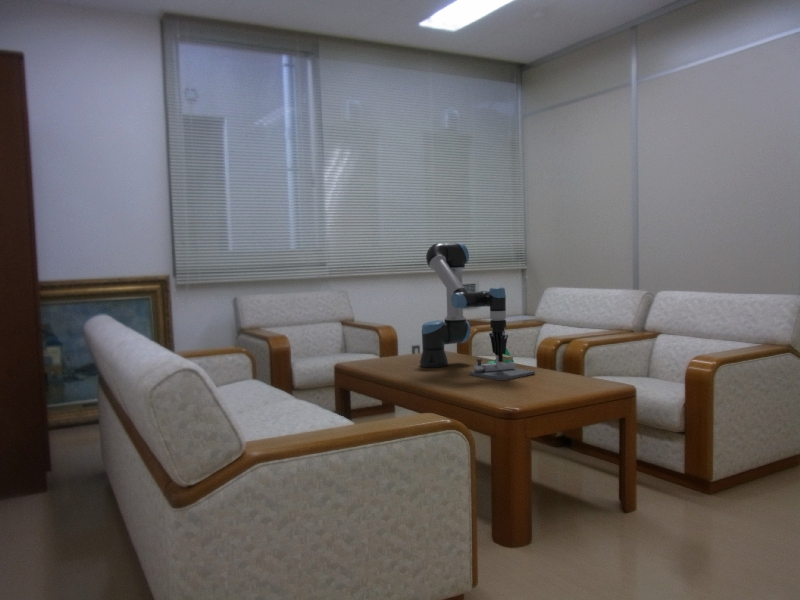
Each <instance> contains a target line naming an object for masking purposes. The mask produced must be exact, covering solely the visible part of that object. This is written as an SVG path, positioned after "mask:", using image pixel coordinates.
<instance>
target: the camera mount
mask: <svg viewBox="0 0 800 600" xmlns="http://www.w3.org/2000/svg"><path fill="white" fill-rule="evenodd" d="M503 355H507V356H511V354H510V352H509V349H508V348H507V347H506V352H505V354H503ZM505 362H514V359H513V360H505ZM490 363H496V358H495V359H494V360H493V361H491V360H490V361H487V362H486V364H490ZM514 363H515V362H514Z"/></svg>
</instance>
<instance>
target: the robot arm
mask: <svg viewBox="0 0 800 600" xmlns="http://www.w3.org/2000/svg"><path fill="white" fill-rule="evenodd" d="M425 256H426V257H425V259H426V263H427V265H428V268H430V270H432V271H433V272H435V274H436V276H437V277H438V278H439V280H440V281H441V282H442V284H443V285H444V287H445V288H446V316H445V318H444V320H439V319H438V320H431V321H427V322H424V323H423V324H422V326H421V345H422V353H421V357H420V360H419V367H422V366H423V367H424V368H444V367H447V366H449V359H448V357H447V354H446V350H445V345H453V344H458V345H459V344H463V343H466V342H468V340H469V339H470V336H471V333H472V329H471V328H472V327H471V324H470V323H469V321H467V317H465V316H464V309H468V308H483V307H484V308H485V307H488V308H489V319H490V321H489V322H490V328H491V329H492V331H491V333H489V334H488V335H489V337H490V343H491V349H492V353H493V354H494V355H495V359H496V369H501V368H503V367H502V361H503V360H502V359H503V357H502V355H503V354H505V352H506V348H507V343H508V338H509V334H506V331H505V328H507V320H506V318H507V311H506V309H507V307H506V306H507V303H506V301H507V300H506V299H507V296H506V289H505V288H504V287H503V286H502V287H501V286H500V287H498V286H497V287H490V288H489V291H488V290H480V291H468V290H467V289H466V288H465V287H464V284H463V270H464V269H465V267H466V264H468V263H469V260H470V254H469V249H468V247H467V246H466V245H465V244H464V243H462V242H437V243H434V244H432V245H431V246H430V247H429V248H428V250H427V251H426V254H425ZM443 366H444V367H443ZM423 367H422V368H423Z"/></svg>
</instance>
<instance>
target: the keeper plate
mask: <svg viewBox="0 0 800 600" xmlns="http://www.w3.org/2000/svg"><path fill="white" fill-rule="evenodd" d="M502 357H503V359H502V360H503V361H502V362H505V360H513V361H514V356H507V355H502ZM468 373H469V376H472V375H473V377H477V376H478V378H483V377H484V379H488V378H489V380H494V379H495V380H496V381H500V380H501V382H504V381H503V380H505V381H509V380H508V379H510V380H514V379H513V378H515V379H519V378H518V377H520V378H523V377H522V376H525V377H528V376H527V375H530V376H532V375H531V374H535V375H536V371H534V370H529V369H521V368H516V367H515V369H508V370H498V371H487V372H474V370H472V371H469V372H468Z"/></svg>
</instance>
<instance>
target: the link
mask: <svg viewBox="0 0 800 600" xmlns="http://www.w3.org/2000/svg"><path fill="white" fill-rule="evenodd" d="M476 362H477V364H474V365H473V367H474V369H473V371H474V372H487V371H498V370H508V369H515V368H516V362H502V367H503V368H501V369H496V363H490V364H487V363H482V362H483V358H477V359H476Z"/></svg>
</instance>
